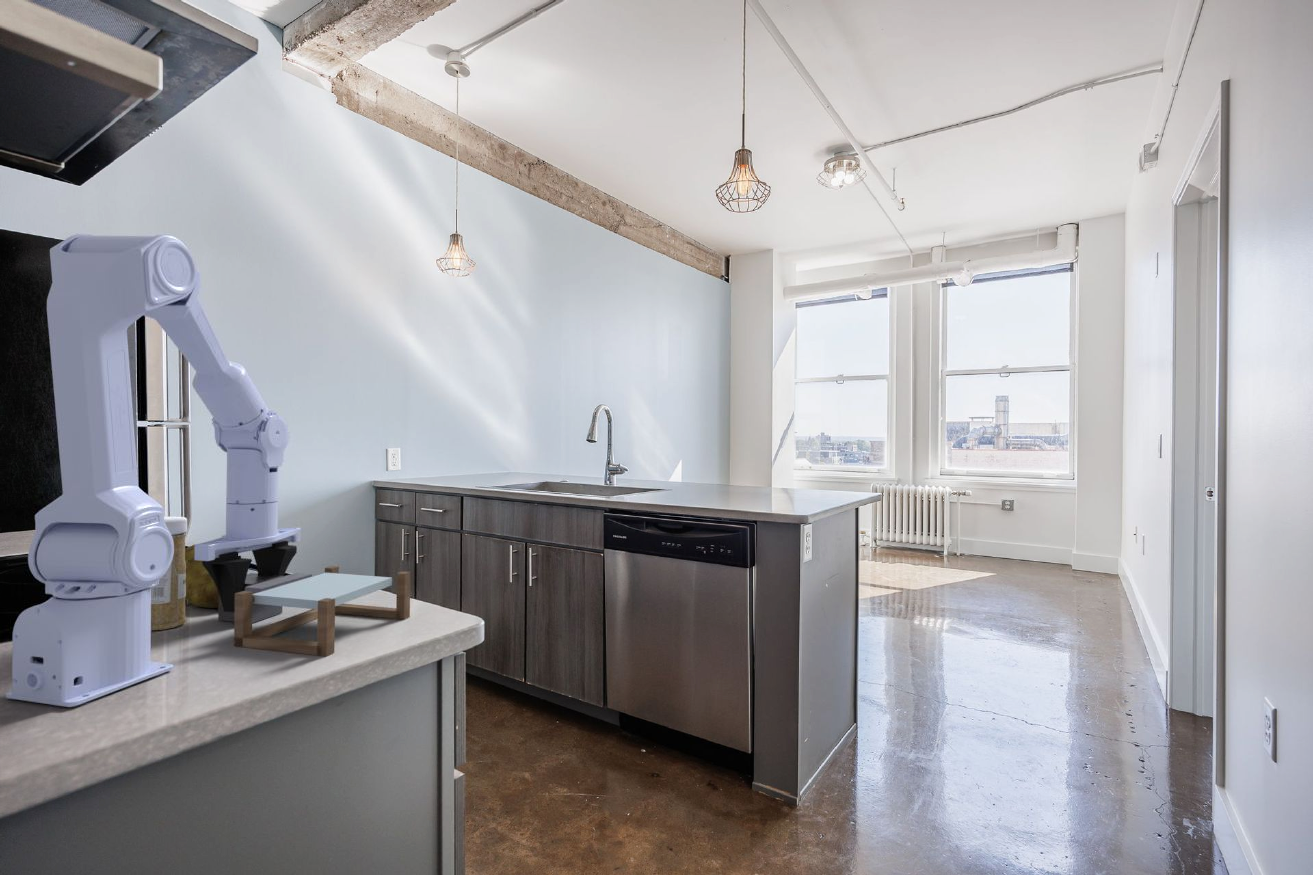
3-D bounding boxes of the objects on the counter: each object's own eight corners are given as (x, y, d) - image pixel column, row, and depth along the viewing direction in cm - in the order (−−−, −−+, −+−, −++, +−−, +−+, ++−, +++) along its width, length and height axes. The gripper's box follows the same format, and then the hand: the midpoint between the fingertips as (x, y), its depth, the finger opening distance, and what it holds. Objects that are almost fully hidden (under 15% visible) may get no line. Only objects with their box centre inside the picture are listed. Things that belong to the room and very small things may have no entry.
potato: (176, 618, 81) (176, 556, 81) (170, 597, 91) (171, 542, 91) (252, 608, 87) (252, 550, 87) (238, 589, 97) (239, 537, 96)
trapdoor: (325, 611, 71) (325, 599, 71) (230, 602, 74) (230, 591, 74) (392, 586, 83) (392, 576, 83) (307, 579, 85) (308, 569, 85)
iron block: (250, 623, 80) (251, 584, 80) (218, 620, 81) (218, 581, 81) (282, 612, 85) (282, 575, 84) (251, 609, 86) (251, 572, 86)
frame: (326, 656, 69) (327, 601, 69) (234, 645, 72) (234, 593, 72) (409, 616, 84) (410, 572, 84) (330, 609, 87) (331, 566, 86)
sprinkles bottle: (195, 622, 80) (196, 516, 80) (159, 633, 76) (160, 521, 75) (166, 619, 81) (167, 514, 81) (129, 629, 77) (130, 519, 76)
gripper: (271, 495, 90) (270, 589, 91) (174, 506, 76) (173, 618, 76) (314, 497, 89) (312, 593, 89) (222, 509, 75) (221, 623, 75)
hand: (251, 605), depth 83 cm, fingers closed on iron block, 5 cm apart
